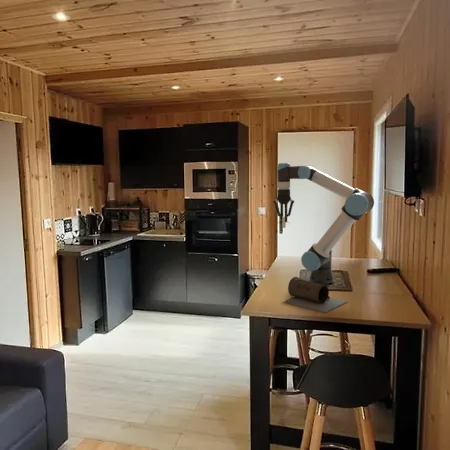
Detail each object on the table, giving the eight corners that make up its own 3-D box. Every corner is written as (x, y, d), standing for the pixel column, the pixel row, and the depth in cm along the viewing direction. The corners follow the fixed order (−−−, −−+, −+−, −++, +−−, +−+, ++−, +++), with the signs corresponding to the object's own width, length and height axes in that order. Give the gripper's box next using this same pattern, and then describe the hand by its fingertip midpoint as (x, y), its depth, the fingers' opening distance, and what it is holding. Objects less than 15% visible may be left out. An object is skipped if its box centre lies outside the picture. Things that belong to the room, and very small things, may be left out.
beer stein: (285, 294, 225) (316, 304, 211) (289, 275, 226) (321, 283, 212) (300, 297, 236) (331, 306, 222) (304, 278, 237) (336, 286, 223)
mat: (285, 302, 220) (285, 301, 220) (308, 293, 236) (308, 292, 236) (325, 312, 204) (325, 311, 204) (347, 302, 220) (347, 301, 219)
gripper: (295, 188, 254) (295, 227, 257) (274, 188, 259) (274, 226, 261) (293, 189, 247) (293, 228, 250) (271, 189, 251) (272, 228, 254)
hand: (284, 227), depth 256 cm, fingers closed
